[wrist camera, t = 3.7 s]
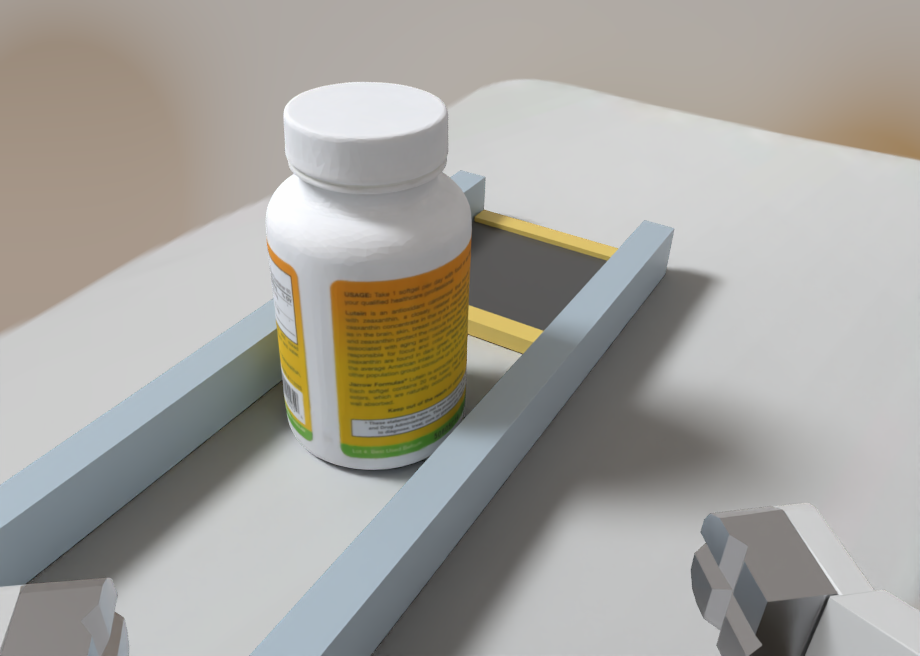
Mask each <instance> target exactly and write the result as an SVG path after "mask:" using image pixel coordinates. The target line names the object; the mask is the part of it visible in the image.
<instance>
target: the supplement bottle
mask: <svg viewBox="0 0 920 656" xmlns="http://www.w3.org/2000/svg"><path fill="white" fill-rule="evenodd" d="M284 134H285V154H286V157H287V159H288V161H289V167H290V169H291V171H292V172H293V173H294V174H293V175H292V176H290V177H289V178H287V179H286V180H285V181H284V182H283V183H282V184H281V185H280V186H279V187H278V189H277V190H276V191H275V193H274V194H273V196H272V198H271V200H270V202H269V205H268V208H267V213H266V237H267V246H268V256H269V264H270V272H271V281H272V290H273V298H274V306H275V316H276V325H277V334H278V343H279V353H280V360H281V371H282V380H283V389H284V399H285V406H286V411H287V417H288V422H289V425H290V428H291V430H292V432H293V434H294V435H295V437H296V439H297V440H298V441H299V442H300V444H301V445H302V446H303V447H304V448H305V449H307V450H308V451H309V452H310V453H312V454H313V455H315V456H316V457H318V458H320V459H323V460H325V461H327V462H330V463H332V464H335V465H339V466H344V467H348V468H355V469H365V470H378V469H390V468H397V467H402V466H406V465H409V464H413V463H415V462H418V461H421V460H423V459H425V458H427V457H429V456H431V455H432V454H433V453H434V451H435V450H436V449H437V448H438V447H439V446H440V445H441V444H442V443H443V442H444V440H445V439H446V438H447V437H448V436H449V435H450V434H451V433H452V432H453V430H454V429H455V428H456V427H457V426H458V425H459V424H460V423H461V421H462V418H463V413H464V406H465V393H466V363H467V336H468V310H469V284H470V262H471V238H472V220H471V210H470V205H469V203H468V200H467V198H466V196H465V194H464V193H463V191H462V190H461V188H460V187H459V186H458V185H457V184H456V183H455V182H454V181H453V180H452V179H451V178H450V177H448V176H447V175H446V174H444V173H443V172H442V171H443V170H444V168H445V166H446V162H447V154H448V111H447V108H446V105H445V104H444V103H443V102H442V101H441V99H439V98H438V97H436V96H434V95H433V94H431V93H429V92H426V91H424V90H420V89H417V88H414V87H410V86H405V85H400V84H391V83H379V82H350V83H341V84H334V85H327V86H323V87H319V88H315V89H311V90H308V91H306V92H303V93H301V94H299V95H297V96H296V97H294V98H293V99H291V100H290V101H289V102H288V104H287V105H286V107H285V109H284Z"/></svg>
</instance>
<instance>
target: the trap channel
mask: <svg viewBox="0 0 920 656" xmlns="http://www.w3.org/2000/svg"><path fill="white" fill-rule="evenodd" d="M450 178H451V179H452V180H453V181H454V182H455V183H456V184H457V185H458V186H459V187H460V188H461V190H462V191H463V193H464V194H465V196H466V198H467V200H468V203H469V205H470V210H471V220H472V238H471V262H470V284H469V310H468V334H470V335H472V336H475V337H478V338H481V339H483V340H486V341H489V342H492V343H495V344H497V345H500V346H503V347H506V348H509V349H511V350H514V351H517V352H520V353H522V356H521V357H520V358H519V359H518V360H517V361H516V362H515V363H514V364H513V365H512V367H511V368H510V369H509V370H508V371H507V372H506V373H505V374H504V375H503V377H502V378H501V379H500V380H499V381H498V382H497V383H496V384H495V385H494V386H493V388H492V389H491V390H490V391H489V392H488V393H487V394H486V395H485V396H484V397H483V399H482V400H481V401H480V402H479V403H478V404H477V405H476V406H475V407H474V408H473V410H472V411H471V412H470V413H469V414H468V415H467V416H466V417H465V418H464V419H463V421H462V422H461V423H460V424H459V425H458V426H457V427H456V428H455V429H454V430H453V432H452V433H451V434H450V435H449V436H448V437H447V438H446V439H445V440H444V442H443V443H442V444H441V445H440V446H439V447H438V448H437V449H436V450H435V451H434V453H433V454H432V455H431V456H430V457H429V458H428V459H427V460H426V461H425V462H424V464H423V465H422V466H421V467H420V468H419V469H418V470H417V471H416V472H415V473H414V475H413V476H412V477H411V478H410V479H409V480H408V481H407V482H406V483H405V484H404V486H403V487H402V488H401V489H400V490H399V491H398V492H397V493H396V494H395V496H394V497H393V498H392V499H391V500H390V501H389V502H388V503H387V504H386V505H385V507H384V508H383V509H382V510H381V511H380V512H379V513H378V514H377V515H376V516H375V518H374V519H373V520H372V521H371V522H370V523H369V524H368V525H367V526H366V527H365V529H364V530H363V531H362V532H361V533H360V534H359V535H358V536H357V537H356V538H355V540H354V541H353V542H352V543H351V544H350V545H349V546H348V547H347V548H346V549H345V551H344V552H343V553H342V554H341V555H340V556H339V557H338V558H337V559H336V561H335V562H334V563H333V564H332V565H331V566H330V567H329V568H328V569H327V570H326V572H325V573H324V574H323V575H322V576H321V577H320V578H319V579H318V580H317V581H316V583H315V584H314V585H313V586H312V587H311V588H310V589H309V590H308V591H307V592H306V594H305V595H304V596H303V597H302V598H301V599H300V600H299V601H298V602H297V603H296V605H295V606H294V607H293V608H292V609H291V610H290V611H289V612H288V613H287V614H286V616H285V617H284V618H283V619H282V620H281V621H280V622H279V623H278V624H277V626H276V627H275V628H274V629H273V630H272V631H271V632H270V633H269V634H268V635H267V637H266V638H265V639H264V640H263V641H262V642H261V643H260V644H259V645H258V646H257V648H256V649H255V650H254V651H253V652H252V653H251V654H250V655H249V656H371V654H372V653H373V652H374V651H375V649H376V648H377V647H378V645H379V644H380V643H381V642H382V640H383V639H384V638H385V636H386V635H387V634H388V632H389V631H390V630H391V629H392V627H393V626H394V625H395V623H396V622H397V621H398V619H399V618H400V617H401V616H402V614H403V613H404V612H405V610H406V609H407V608H408V607H409V605H410V604H411V603H412V601H413V600H414V599H415V597H416V596H417V595H418V594H419V592H420V591H421V590H422V588H423V587H424V586H425V585H426V583H427V582H428V581H429V579H430V578H431V577H432V575H433V574H434V573H435V572H436V570H437V569H438V568H439V566H440V565H441V564H442V563H443V561H444V560H445V559H446V557H447V556H448V555H449V553H450V552H451V551H452V550H453V548H454V547H455V546H456V544H457V543H458V542H459V540H460V539H461V538H462V537H463V535H464V534H465V533H466V531H467V530H468V529H469V528H470V526H471V525H472V524H473V522H474V521H475V520H476V518H477V517H478V516H479V515H480V513H481V512H482V511H483V509H484V508H485V507H486V506H487V504H488V503H489V502H490V500H491V499H492V498H493V496H494V495H495V494H496V493H497V491H498V490H499V489H500V487H501V486H502V485H503V484H504V482H505V481H506V480H507V478H508V477H509V476H510V474H511V473H512V472H513V471H514V469H515V468H516V467H517V465H518V464H519V463H520V462H521V460H522V459H523V458H524V456H525V455H526V454H527V452H528V451H529V450H530V449H531V447H532V446H533V445H534V443H535V442H536V441H537V439H538V438H539V437H540V436H541V434H542V433H543V432H544V430H545V429H546V428H547V427H548V425H549V424H550V423H551V421H552V420H553V419H554V417H555V416H556V415H557V414H558V412H559V411H560V410H561V408H562V407H563V406H564V405H565V403H566V402H567V401H568V399H569V398H570V397H571V395H572V394H573V393H574V392H575V390H576V389H577V388H578V386H579V385H580V384H581V383H582V381H583V380H584V379H585V377H586V376H587V375H588V373H589V372H590V371H591V370H592V368H593V367H594V366H595V364H596V363H597V362H598V361H599V359H600V358H601V357H602V355H603V354H604V353H605V351H606V350H607V349H608V348H609V346H610V345H611V344H612V342H613V341H614V340H615V338H616V337H617V336H618V335H619V333H620V332H621V331H622V329H623V328H624V327H625V326H626V324H627V323H628V322H629V320H630V319H631V318H632V316H633V315H634V314H635V313H636V311H637V310H638V309H639V307H640V306H641V305H642V304H643V302H644V301H645V300H646V298H647V297H648V296H649V294H650V293H651V292H652V291H653V289H654V288H655V287H656V285H657V284H658V283H659V282H660V280H661V279H662V278H663V276H664V275H665V274H666V269H667V264H668V259H669V253H670V248H671V243H672V238H673V233H674V228H671V227H668V226H664V225H660V224H656V223H653V222H649V221H645V220H644V221H643V222H642V223H641V224H640V226H639V227H638V228H637V229H636V230H635V231H634V232H633V233H632V234H631V235H630V237H629V238H628V239H627V240H626V241H625V242H624V243H623V244H622V245H621V246H620V248H619V249H618V248H615V247H611V246H608V245H604V244H601V243H597V242H594V241H590V240H587V239H583V238H580V237H577V236H573V235H570V234H566V233H563V232H559V231H556V230H552V229H549V228H546V227H542V226H539V225H535V224H532V223H528V222H525V221H521V220H518V219H514V218H511V217H508V216H504V215H501V214H497V213H494V212H490V211H487V210H484V197H485V177H484V176H480V175H476V174H473V173H469V172H465V171H462V170H460V171H459V172H457V173H456V174H455V175H453V176H452V177H450ZM281 380H282V371H281V360H280V353H279V343H278V334H277V325H276V316H275V306H274V298H273V299H272V300H270V301H269V302H267V303H266V304H264V305H263V306H261V307H260V308H258V309H257V310H255V311H254V312H253V313H251V314H250V315H248V316H247V317H245V318H244V319H242V320H241V321H239V322H238V323H236V324H235V325H234V326H232V327H231V328H229V329H228V330H226V331H225V332H223V333H222V334H220V335H219V336H217V337H216V338H215V339H213V340H212V341H210V342H209V343H207V344H206V345H204V346H203V347H201V348H200V349H198V350H197V351H195V352H194V353H193V354H191V355H190V356H188V357H187V358H185V359H184V360H182V361H181V362H179V363H178V364H176V365H175V366H174V367H172V368H171V369H169V370H168V371H166V372H165V373H163V374H162V375H160V376H159V377H157V378H156V379H154V380H153V381H152V382H150V383H149V384H147V385H146V386H144V387H143V388H141V389H140V390H138V391H137V392H135V393H134V394H133V395H131V396H130V397H128V398H127V399H125V400H124V401H122V402H121V403H119V404H118V405H116V406H115V407H114V408H112V409H111V410H109V411H108V412H106V413H105V414H103V415H102V416H100V417H99V418H97V419H96V420H94V421H93V422H92V423H90V424H89V425H87V426H86V427H84V428H83V429H81V430H80V431H78V432H77V433H75V434H74V435H73V436H71V437H70V438H68V439H67V440H65V441H64V442H62V443H61V444H59V445H58V446H56V447H55V448H53V449H52V450H51V451H49V452H48V453H46V454H45V455H43V456H42V457H40V458H39V459H37V460H36V461H34V462H33V463H32V464H30V465H29V466H27V467H26V468H24V469H23V470H21V471H20V472H18V473H17V474H15V475H14V476H13V477H11V478H10V479H8V480H7V481H5V482H4V483H2V484H1V485H0V587H4V586H15V585H25V584H26V583H27V582H28V581H30V580H31V579H32V578H34V577H35V576H36V575H37V574H39V573H40V572H41V571H42V570H44V569H45V568H46V567H47V566H49V565H50V564H51V563H52V562H54V561H55V560H56V559H57V558H59V557H60V556H61V555H62V554H64V553H65V552H66V551H67V550H69V549H70V548H71V547H72V546H74V545H75V544H76V543H78V542H79V541H80V540H81V539H83V538H84V537H85V536H86V535H88V534H89V533H90V532H91V531H93V530H94V529H95V528H96V527H98V526H99V525H100V524H101V523H103V522H104V521H105V520H106V519H108V518H109V517H110V516H111V515H113V514H114V513H115V512H117V511H118V510H119V509H120V508H122V507H123V506H124V505H125V504H127V503H128V502H129V501H130V500H132V499H133V498H134V497H135V496H137V495H138V494H139V493H140V492H142V491H143V490H144V489H145V488H147V487H148V486H149V485H150V484H152V483H153V482H154V481H155V480H157V479H158V478H159V477H161V476H162V475H163V474H164V473H166V472H167V471H168V470H169V469H171V468H172V467H173V466H174V465H176V464H177V463H178V462H179V461H181V460H182V459H183V458H184V457H186V456H187V455H188V454H189V453H191V452H192V451H193V450H194V449H196V448H197V447H198V446H200V445H201V444H202V443H203V442H205V441H206V440H207V439H208V438H210V437H211V436H212V435H213V434H215V433H216V432H217V431H218V430H220V429H221V428H222V427H223V426H225V425H226V424H227V423H228V422H230V421H231V420H232V419H233V418H235V417H236V416H237V415H238V414H240V413H241V412H242V411H244V410H245V409H246V408H247V407H249V406H250V405H251V404H252V403H254V402H255V401H256V400H257V399H259V398H260V397H261V396H262V395H264V394H265V393H266V392H267V391H269V390H270V389H271V388H272V387H274V386H275V385H276V384H277V383H279V382H280V381H281Z"/></svg>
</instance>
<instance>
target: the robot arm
mask: <svg viewBox="0 0 920 656" xmlns="http://www.w3.org/2000/svg"><path fill="white" fill-rule="evenodd" d="M701 534H702V536H703V538H704V540H705V542H706V543H705V544H704V545H703V546H702V547H701V548H700V549H699V550H698V551H697V552H695V553H694V558H693V562H692V567H691V579H692V589H693V593H694V596H695V600H696V603H697V605H698V608H699V610H700V612H701V614H702V616H703V618H704V619H705V620H706V621H708V622H709V623H711V624H712V625H713V626H715V627H716V628H717V629H719V630H720V633H719V637H718V641H717V645H716V646H717V648H718V650H719V652H720V654H721V656H920V611H919V610H917V609H915V608H914V607H912V606H910V605H909V604H907V603H906V602H904V601H902V600H901V599H899V598H897V597H896V596H894V595H892V594H891V593H889V592H888V591H886V590H874V589H873V587H872V586H871V584H870V583H869V582H868V580H867V579H866V577H865V576H864V574H863V573H862V572H861V570H860V569H859V567H858V566H857V565H856V563H855V562H854V560H853V559H852V558H851V556H850V555H849V553H848V552H847V550H846V549H845V548H844V546H843V545H842V543H841V542H840V541H839V539H838V538H837V536H836V535H835V533H834V532H833V531H832V529H831V528H830V526H829V525H828V524H827V522H826V521H825V519H824V518H823V517H822V515H821V514H820V512H819V511H818V510H817V508H816V507H814V506H813V505H811V504H810V503H800V504H790V505H781V506H775V507H772V506H767V507H759V508H751V509H742V510H734V511H725V512H717V513H710V514H709V515H708V516H707V517H706V518H705V519H704V522H703V525H702V529H701ZM117 596H118V595H117V592H116V589H115V586H114V583H113V580H112V578H96V579H84V580H71V581H59V582H46V583H34V584H26V585H15V586H4V587H0V656H129V640H128V632H127V627H126V623H125V619H124V617H122V616H121V615H119V614H118V613H116V612H115V607H116V601H117Z"/></svg>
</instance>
